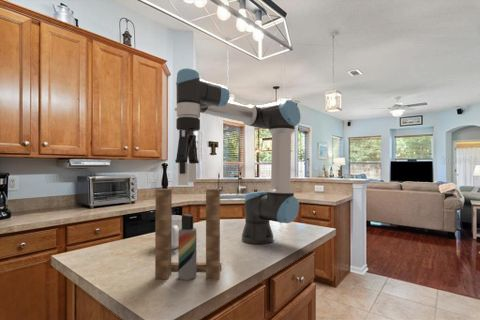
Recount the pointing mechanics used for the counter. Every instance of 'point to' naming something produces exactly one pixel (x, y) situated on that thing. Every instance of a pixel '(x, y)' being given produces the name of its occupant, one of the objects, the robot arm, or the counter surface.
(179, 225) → the mug
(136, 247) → the counter surface
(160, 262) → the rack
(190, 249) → the lotion bottle
